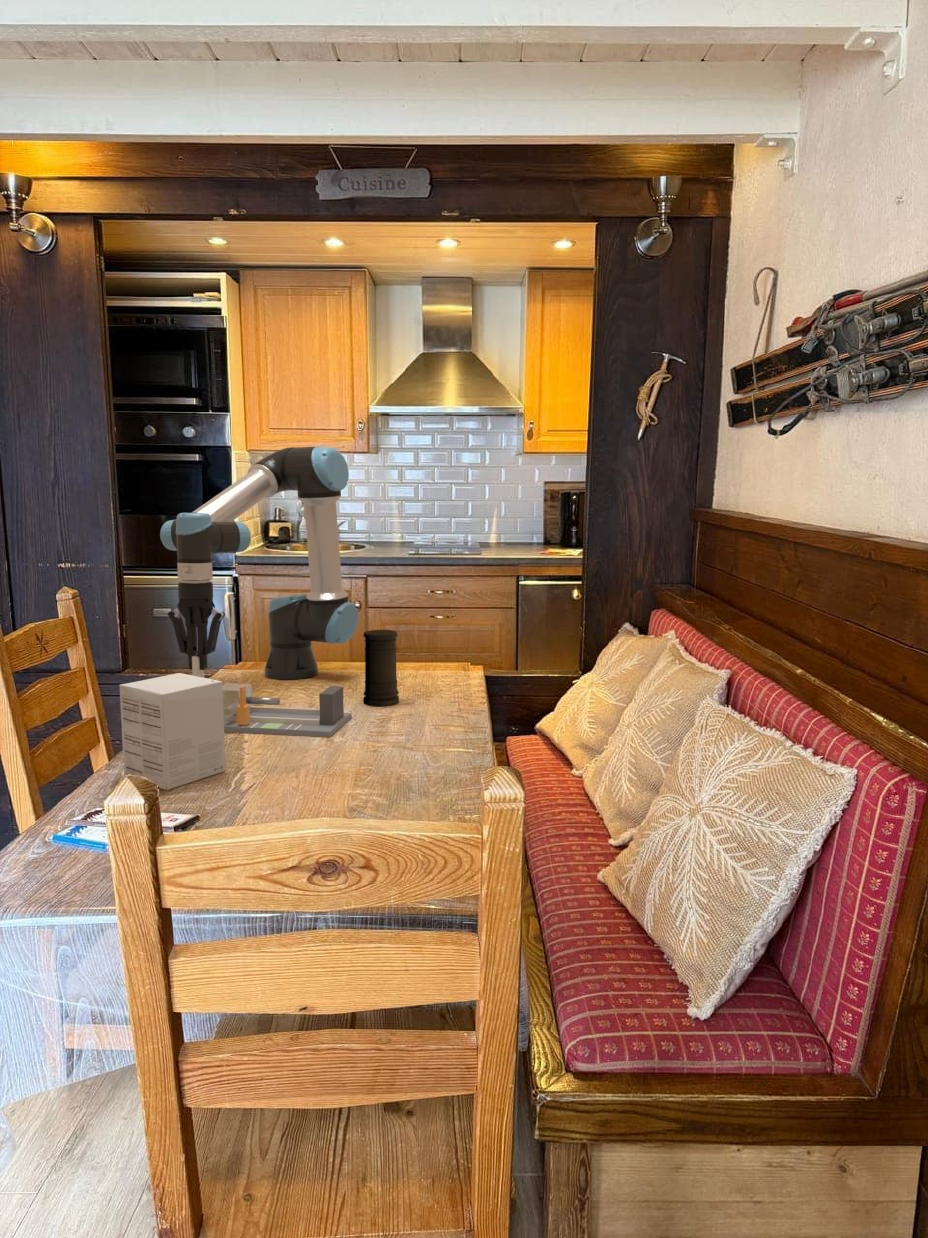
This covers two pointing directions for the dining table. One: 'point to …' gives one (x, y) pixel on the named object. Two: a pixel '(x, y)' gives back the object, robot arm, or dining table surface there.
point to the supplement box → (173, 729)
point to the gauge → (233, 698)
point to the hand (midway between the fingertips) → (198, 683)
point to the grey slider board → (296, 718)
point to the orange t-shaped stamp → (243, 708)
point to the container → (380, 668)
